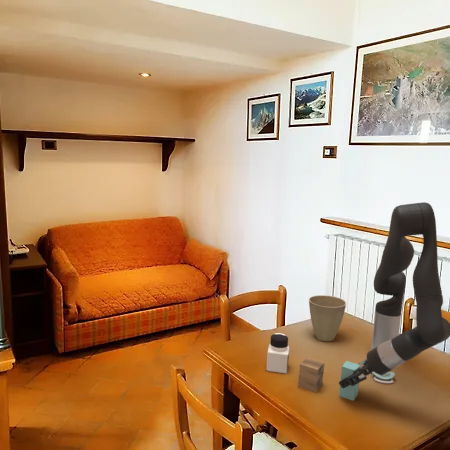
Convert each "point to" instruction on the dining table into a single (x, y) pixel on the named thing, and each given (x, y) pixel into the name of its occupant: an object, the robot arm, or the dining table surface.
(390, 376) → the pacifier
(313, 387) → the tower base slab
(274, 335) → the medicine bottle
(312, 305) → the plant pot
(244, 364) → the dining table surface
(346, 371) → the pillar
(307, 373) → the tower upper slab
